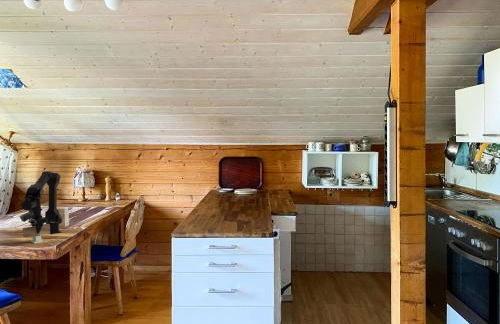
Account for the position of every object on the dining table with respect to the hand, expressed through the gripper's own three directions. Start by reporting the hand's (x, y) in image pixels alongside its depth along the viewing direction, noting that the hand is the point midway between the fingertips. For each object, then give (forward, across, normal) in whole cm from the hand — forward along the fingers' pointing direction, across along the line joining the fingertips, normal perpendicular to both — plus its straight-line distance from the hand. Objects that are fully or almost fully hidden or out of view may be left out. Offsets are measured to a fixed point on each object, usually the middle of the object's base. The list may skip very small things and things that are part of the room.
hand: (36, 232), depth 245 cm
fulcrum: (+6, 0, 0) cm, 6 cm away
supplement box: (+6, -32, +29) cm, 44 cm away
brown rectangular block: (+1, 0, 0) cm, 1 cm away
